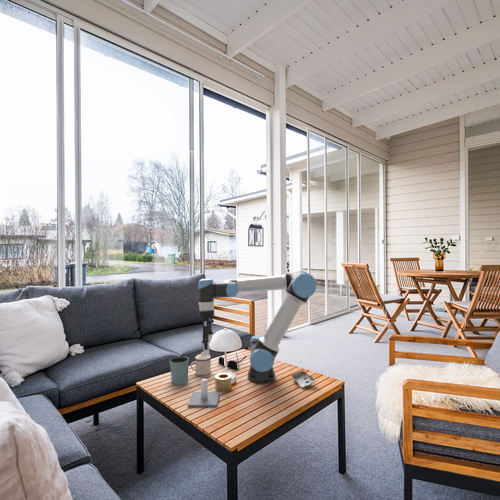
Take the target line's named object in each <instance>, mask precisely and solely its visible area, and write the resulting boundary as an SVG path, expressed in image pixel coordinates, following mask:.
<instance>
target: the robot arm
mask: <svg viewBox="0 0 500 500" xmlns="http://www.w3.org/2000/svg"><path fill="white" fill-rule="evenodd" d="M197 285H198V288H197V290H198V303H197V305H198V309H199V313H198V315H199V318H200V319H203V321H202V341H201V344H203V345H202V348H203V351H202V352H204V356H209V355H210V347H209V343H210V341H211V339H212V340H213V334H214V332H213V328H212V319H213V318H214V317H215V310H214V309H215V298H235V297H238V296H237V295H238V293H253V292H265V291H267V292H268V291H281V290H283V291H285V293H286V296H285V298H284V300H283V301H282V304H281V305H280V307H279V308H278V310H277V312H276V314H275V316H274V317H273V319H272V321H271V323H270V325H269V327H268V328H267V330H266V332H265V333H264V335H254V336H251V337H250V354H249V355H250V356H249V361H250V362H249V363H250V367H249V369H248V372H247V380H248V381H249V382H250V383H253V384H257V385H258V384H261V385H265V384H271V383H273V382H275V380H276V373H275V370H274V363H275V359H276V357H277V355H278V353H279V352H280V347H279V345H280V344H281V342H282V340H283V338H284V336H285V335H286V333H287V331H288V329H289V328H290V326H291V324H292V322H293V321H294V319H295V317H296V315H297V313H298V312H299V310H300V308H301V306H302V305H304V304H307V303H308V301H309V299H310V297H312V296H313V295H314V294H315V292H316V291H317V281H316V279H315V277H314V276H313V275H312V274H310V273H309V272H306V271H303V270H298V271H294V272H287V273H284V274H282V275H273V276H260V277H258V276H257V277H245V278H234V279H230V278H227V279H225V280H223V281H222V282H214V279H213V278H202V279H199V280H198V284H197Z"/></svg>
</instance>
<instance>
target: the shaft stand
mask: <svg viewBox="0 0 500 500" xmlns="http://www.w3.org/2000/svg"><path fill="white" fill-rule="evenodd" d="M208 389H209V388H208V379H207V378H201V380H200V391H192V393H191V396H190V399H189V401H188V404H187V408H217V407H218V404H219V403H218V402H219V399H220V391H208Z"/></svg>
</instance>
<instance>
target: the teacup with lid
mask: <svg viewBox="0 0 500 500" xmlns="http://www.w3.org/2000/svg"><path fill="white" fill-rule="evenodd" d="M194 359H195V361H192V362H191V363H190V364H189V365H190V369H191V370H192V371H194V372H195V374H196V375H197V376H207V375H210V374H211V371H212V370H211V367H212V366H211V365H212V364H211V363H212V356H211V355H210V354H209V356H204V352H203V351H202V352H201V353H199V354H197V355H196V356H195V357H194ZM193 364H195V368H193Z"/></svg>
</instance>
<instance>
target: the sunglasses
mask: <svg viewBox="0 0 500 500" xmlns="http://www.w3.org/2000/svg"><path fill="white" fill-rule="evenodd" d="M235 356H236V360H237V361H236V360H228V361H226V362H227V363H226V365H227V367H226V368H229V369H231V370H237V371H239V369H240V367H239V366H240V362H242V361H244V360H245V359H246V358H247V357H248V356H247V355H245V356H244V357H243V358H242V359H241V360H238V353H237V352H236V353H235ZM224 359H225V358H224V357H223V356H219V357H218V362H217V364H218V363H219V365H221V366H222V367H225V366H224Z"/></svg>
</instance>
